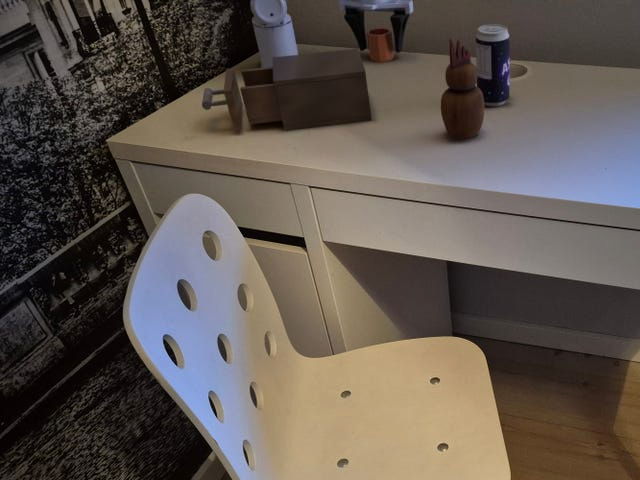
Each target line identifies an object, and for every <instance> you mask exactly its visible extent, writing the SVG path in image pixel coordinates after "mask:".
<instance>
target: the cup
mask: <svg viewBox="0 0 640 480" xmlns="http://www.w3.org/2000/svg"><path fill="white" fill-rule="evenodd" d="M392 32H393V31H392V29H391V28H387V27H375V28H371V29H369V30H367V31H366V39H367V47H368V50H369V51H368V52H369V57H370V58H369V59H370V60H371V61H373V62H377V63H382V62H389V61H391V60H393V59H394V58H395V52H394V43H393V42H394V41H393V33H392Z"/></svg>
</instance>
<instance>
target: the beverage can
mask: <svg viewBox="0 0 640 480" xmlns="http://www.w3.org/2000/svg"><path fill="white" fill-rule="evenodd" d="M510 53H511V36H510V34H509V31H508V27H507V26H506V25H502V24H493V23H492V24H484V25H480V26H479V27H478V28H477V33H476V36H475V66H476V68H477V83H476V87H478V88H479V89H480V90H481V91H482V93H483V97H484V106H487V107H498V106H502V105H504V104H505V103H506V102H507V101H508V100H509V98H510V75H511V74H510V73H511V71H510V64H511V63H510V61H511V58H510V57H511V56H510V55H511V54H510Z"/></svg>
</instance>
